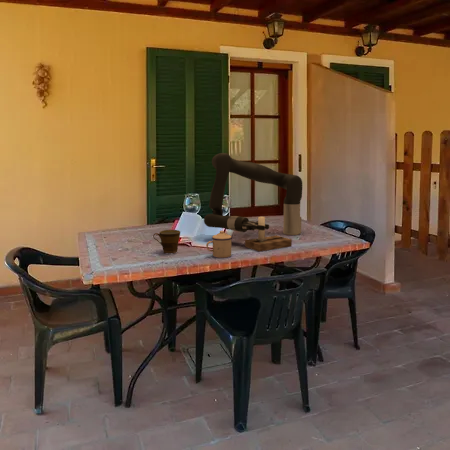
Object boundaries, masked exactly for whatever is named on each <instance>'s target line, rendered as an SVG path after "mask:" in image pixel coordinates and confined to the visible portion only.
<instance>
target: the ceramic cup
mask: <svg viewBox="0 0 450 450" xmlns="http://www.w3.org/2000/svg"><path fill="white" fill-rule="evenodd" d="M156 235H157V236H158V237H159V238H160V241H159V239H157V238H155V236H156ZM152 237H153V239H154V240H155V241H157V242H158V243H159V244H160V245H161V247H162V251H163V254H166V253H173V254H177V253H178V249H179V242H180V237H181V231H180V230H178V229H165V230H160V231H159V232H158V233H157V232H156V233H154V234H153V236H152ZM176 252H177V253H176Z"/></svg>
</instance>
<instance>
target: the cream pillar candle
mask: <svg viewBox="0 0 450 450" xmlns="http://www.w3.org/2000/svg"><path fill="white" fill-rule="evenodd" d="M257 221H258V225H262V226H265V224H266V216H258V219H257ZM257 234H258V235H257V238H258V239H256V238H255V239H256V240H257V241H259V242H263V241H267V239H265V237H266V229H265V230H257Z"/></svg>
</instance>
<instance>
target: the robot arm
mask: <svg viewBox="0 0 450 450" xmlns="http://www.w3.org/2000/svg"><path fill="white" fill-rule="evenodd" d="M211 165H212V167H213V168H214V169H215V178H214V179H215V180H214V183H213V185H212V189H211V191H210V198H209V204H208V205H209V206H208V207H209V208H210V210H212V213H208V214H205V216H204V218H203V224H204V225H205V226H207V227H208V228H216V229H217V228H219V229H223V228H225V229H224V230H228V231H229V230H230V231H232V232H240V233H247V231H253V232H254V231H258V230H265V231H266V230H269V229H270V225H269V224H266V223H265V226H262V225H258V220H257V221H254V220H249V218H248V217H246V216H237V215H233V216H232V215H224V214H223V213H224V212H223V204H224V197H225V190H226V184H227V181H228V177H229V173H231V174H232V173H233V174H236V175H238V176H239V177H243V178H246V179H249V180H251V181H254V182H258V183H262V184H267V185H269V184H270V185H275V186H276V187H279V188H281V189H283V190H286V195H285V197H284V198H283V223H282V224H283V227H282V228H283V229H282V231H283V235H287V236H297V235H301V234H302V216H301V200H302V197H303V179H302V178H301V176H299V175H296V174H291V173H290V174H289V173H284V172H283V173H282V172H280V171H279V172H278V171H276V170H274V169H272V168H270V167H268V166H266V165H262V164H259V163H257V162H256V163H255V162H252V161H244V160H237V159H236V158H232V157H231V156H230V154H228V153H227V152H220V153H217V154H215V155H214V156H213V157H212V159H211Z"/></svg>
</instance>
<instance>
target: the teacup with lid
mask: <svg viewBox="0 0 450 450" xmlns="http://www.w3.org/2000/svg"><path fill="white" fill-rule="evenodd" d="M211 238H212V240H209V241H207V242H206V243H205V244H206V246H205V247H206V249H207V250H208V251H209V252H210V253H211V252H212V256H213V257H215V258H218V259H222V258H223V259H224V258H229V257H231V256H232V238H233V237H232V235H230V234H227V233H226V232H225V231H224V230H220V231H219V233H216V234H214V235H212V237H211ZM209 244H212V249H210V248H209Z"/></svg>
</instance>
